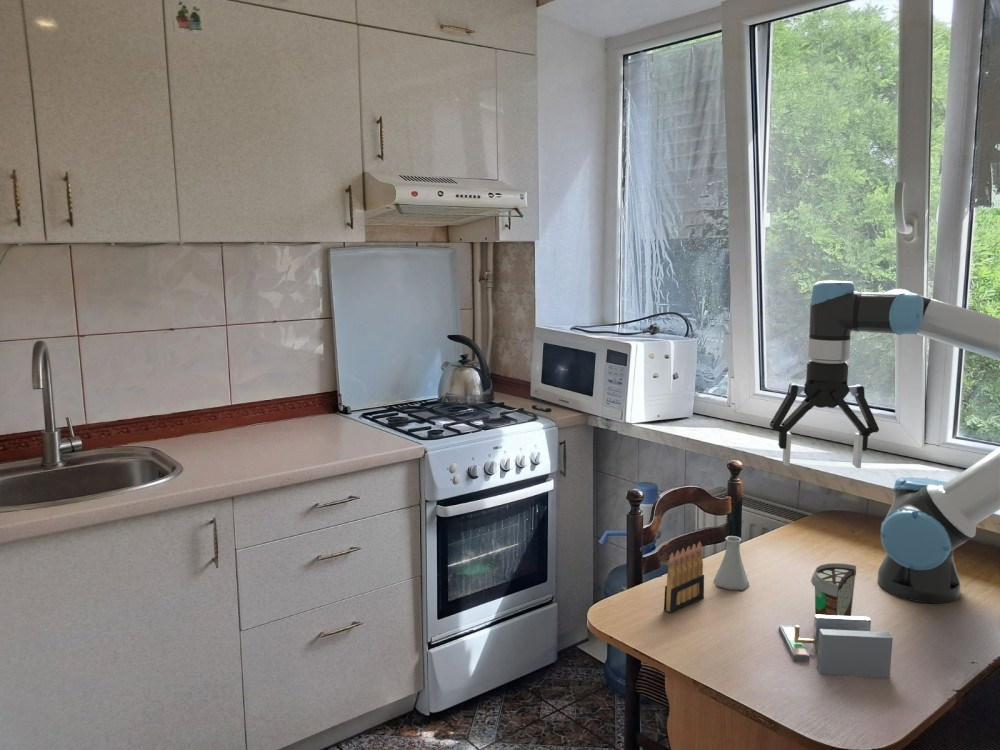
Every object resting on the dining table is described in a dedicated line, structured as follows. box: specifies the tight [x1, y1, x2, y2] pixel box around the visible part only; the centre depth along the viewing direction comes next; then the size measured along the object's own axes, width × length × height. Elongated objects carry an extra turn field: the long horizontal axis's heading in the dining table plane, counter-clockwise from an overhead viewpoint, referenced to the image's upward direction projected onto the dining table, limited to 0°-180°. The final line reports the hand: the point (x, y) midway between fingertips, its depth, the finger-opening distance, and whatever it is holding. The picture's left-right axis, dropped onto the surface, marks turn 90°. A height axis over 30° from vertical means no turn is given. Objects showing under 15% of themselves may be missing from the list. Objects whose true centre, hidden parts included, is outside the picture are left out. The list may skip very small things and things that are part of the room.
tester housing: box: [778, 624, 894, 679], centre depth 139 cm, size 14×15×7 cm
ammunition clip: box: [663, 541, 705, 615], centre depth 158 cm, size 11×2×12 cm, turn 131°
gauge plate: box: [794, 614, 872, 651], centre depth 139 cm, size 12×1×6 cm, turn 84°
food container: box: [810, 562, 857, 616], centre depth 151 cm, size 12×6×10 cm, turn 141°
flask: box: [713, 535, 750, 591], centre depth 167 cm, size 7×7×10 cm
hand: (821, 465), depth 160 cm, fingers open, 13 cm apart
